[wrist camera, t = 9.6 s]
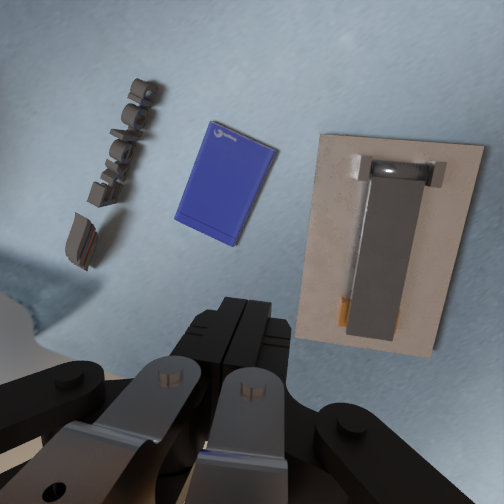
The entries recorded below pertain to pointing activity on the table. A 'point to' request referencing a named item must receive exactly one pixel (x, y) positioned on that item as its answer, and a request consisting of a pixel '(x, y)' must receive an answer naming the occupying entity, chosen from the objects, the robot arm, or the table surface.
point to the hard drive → (224, 183)
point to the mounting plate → (349, 233)
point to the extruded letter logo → (110, 175)
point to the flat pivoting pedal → (385, 247)
